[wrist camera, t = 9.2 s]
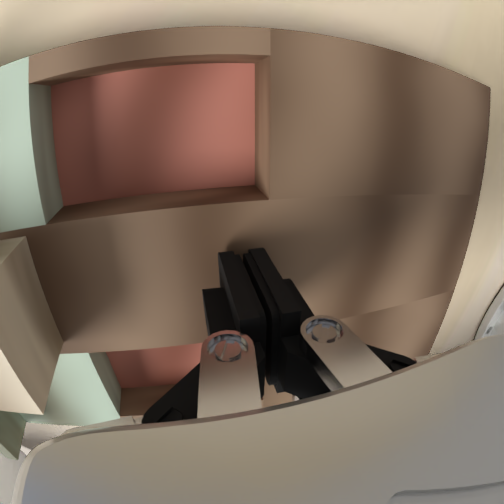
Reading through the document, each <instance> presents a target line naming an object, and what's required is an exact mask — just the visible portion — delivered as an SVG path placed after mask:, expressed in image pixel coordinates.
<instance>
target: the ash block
mask: <svg viewBox="0 0 504 504" xmlns="http://www.w3.org/2000/svg"><path fill="white" fill-rule="evenodd" d="M63 343H64V342H63V340H62V337H61V335H60V333H59V330H58V328H57V326H56V323H55V321H54V318H53V316H52V314H51V311H50V308H49V306H48V303H47V301H46V298H45V295H44V292H43V290H42V287H41V284H40V281H39V278H38V275H37V272H36V269H35V266H34V263H33V259H32V256H31V253H30V249H29V246H28V242H27V238H26V236H23V237H17V238H11V239H5V240H0V411H8V412H17V413H27V414H39V415H44V411H45V407H46V403H47V399H48V395H49V391H50V387H51V383H52V380H53V376H54V372H55V369H56V365H57V362H58V359H59V355H60V352H61V349H62V346H63Z"/></svg>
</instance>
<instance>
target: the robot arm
mask: <svg viewBox="0 0 504 504" xmlns="http://www.w3.org/2000/svg"><path fill="white" fill-rule="evenodd" d="M218 266H219V280H220V287H218V288H210V289H202V295H203V304H204V312H205V320H206V326H207V332H208V337H207V338H206V339H205V340H204V342H203V343H202V347H201V358H200V363H199V364H198V365H196V366H195V367H194V368H193V369H192V370H191V371H190V372H189V373H188V374H187V375H186V376H184V377H183V378H182V379H181V380H180V381H179V382H178V383H177V384H176V385H175V386H173V387H172V388H171V389H170V390H169V391H168V392H167V393H166V394H165V395H163V396H162V397H161V398H160V399H159V400H158V401H157V402H156V403H154V404H153V405H152V406H151V407H150V408H149V409H148V410H147V411H146V412H145V414H144V415H143V417H139V418H135V419H133V417H132V416H128V417H123V418H119V419H115V420H110V421H106V422H101V423H96V424H91V425H86V426H81V427H76V428H72V429H69V430H66V431H65V432H64V433H63V434H62V435H61V436H59V437H56V438H52V439H50V440H48V441H46V442H43V443H42V444H40V445H38V446H36V447H35V448H34V449H33V450H31V451H30V452H29V454H28V455H27V456H26V458H25V459H24V461H23V463H22V465H21V467H20V470H19V473H18V476H17V480H16V483H15V487H14V492H13V497H12V503H11V504H504V286H503V288H502V289H501V290H500V292H499V293H498V295H497V296H496V298H495V299H494V301H493V303H492V304H491V306H490V307H489V309H488V311H487V313H486V315H485V316H484V318H483V320H482V322H481V324H480V326H479V328H478V331H477V334H476V336H475V339H474V341H471V342H469V343H466V344H464V345H461V346H458V347H456V348H453V349H451V350H449V351H446V352H444V353H439V354H432V355H426V356H419V357H415V358H414V360H412V359H411V358H409V357H406V356H404V355H400V354H397V353H394V352H390V351H387V350H384V349H380V348H377V347H374V346H370V345H367V344H365V343H364V342H363V341H362V340H361V339H360V338H359V337H358V336H357V335H356V334H355V333H354V332H353V331H352V330H351V329H350V328H349V327H348V326H347V325H346V324H345V323H343V322H342V321H341V320H340V319H337V318H335V317H332V316H327V315H317V316H314V314H313V312H312V311H311V309H310V308H309V306H308V305H307V303H306V302H305V300H304V298H303V297H302V295H301V294H300V292H299V291H298V289H297V288H296V286H295V284H294V283H293V281H292V280H291V279H289V278H288V279H283V278H282V277H281V275H280V273H279V272H278V270H277V268H276V267H275V265H274V264H273V262H272V260H271V259H270V257H269V255H268V254H267V252H266V250H265V249H264V248H255V249H249V250H248V253H244V254H243V261H242V259H241V257H240V254H234V252H233V251H227V252H218ZM265 378H266V381H267V383H268V385H269V386H270V385H274V387H275V390H276V392H277V393H281V392H287V393H290V394H292V400H293V401H292V402H288V403H284V404H279V405H274V406H270V407H265V408H262V403H261V398H262V397H263V396H264V386H265Z"/></svg>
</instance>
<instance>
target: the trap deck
mask: <svg viewBox="0 0 504 504" xmlns="http://www.w3.org/2000/svg"><path fill="white" fill-rule="evenodd" d="M489 116H490V87H488V86H486V85H483V84H481V83H479V82H477V81H475V80H473V79H470V78H468V77H466V76H463V75H461V74H459V73H456V72H454V71H451V70H449V69H446V68H444V67H441V66H439V65H436V64H433V63H430V62H428V61H425V60H422V59H419V58H416V57H413V56H410V55H406V54H403V53H400V52H396V51H393V50H389V49H386V48H382V47H378V46H374V45H370V44H366V43H362V42H358V41H353V40H348V39H343V38H338V37H333V36H327V35H321V34H315V33H308V32H301V31H292V30H283V29H273V28H259V27H238V26H198V27H177V28H164V29H154V30H145V31H137V32H129V33H123V34H116V35H111V36H105V37H100V38H95V39H90V40H85V41H81V42H77V43H73V44H69V45H65V46H61V47H57V48H54V49H50V50H47V51H43V52H40V53H37V54H34V55H31V56H28V57H25V58H22V59H19V60H16V61H14V62H11V63H8V64H6V65H3V66H1V67H0V240H5V239H11V238H17V237H23V236H26V238H27V242H28V246H29V249H30V253H31V256H32V259H33V263H34V266H35V269H36V272H37V275H38V278H39V281H40V284H41V287H42V290H43V292H44V295H45V298H46V301H47V303H48V306H49V308H50V311H51V314H52V316H53V318H54V321H55V323H56V326H57V328H58V330H59V333H60V335H61V337H62V340H63V342H64V343H63V346H62V349H61V352H60V355H59V359H58V362H57V365H56V369H55V372H54V376H53V380H52V383H51V387H50V391H49V395H48V399H47V403H46V407H45V411H44V415H39V414H27V413H17V412H8V411H0V453H1V454H2V455H3V456H4V457H6V458H8V459H13V460H18V459H19V453H20V448H21V443H22V438H23V434H24V429H25V425H26V422H30V423H41V424H54V425H73V426H86V425H91V424H96V423H101V422H106V421H110V420H115V419H119V418H123V417H128V416H132V417H133V419H135V418H139V417H143V415H144V414H145V412H146V411H147V410H148V409H149V408H150V407H151V406H152V405H153V404H154V403H156V402H157V401H158V400H159V399H160V398H161V397H162V396H163V395H165V394H166V393H167V392H168V391H169V390H170V389H171V388H172V387H173V386H175V385H176V384H177V383H178V382H179V381H180V380H181V379H182V378H183V377H184V376H186V375H187V374H188V373H189V372H190V371H191V370H192V369H193V368H194V367H195V366H196V365H198V364H199V363H200V358H201V347H202V343H203V342H204V340H205V339H206V338H207V337H208V332H207V326H206V320H205V312H204V304H203V295H202V289H210V288H218V287H220V280H219V266H218V252H227V251H233V252H234V254H240V257H241V259H242V261H243V254H244V253H248V250H249V249H255V248H264V249H265V250H266V252H267V254H268V255H269V257H270V259H271V260H272V262H273V264H274V265H275V267H276V268H277V270H278V272H279V273H280V275H281V277H282V278H283V279H288V278H289V279H291V280H292V281H293V283H294V284H295V286H296V288H297V289H298V291H299V292H300V294H301V295H302V297H303V298H304V300H305V302H306V303H307V305H308V306H309V308H310V309H311V311H312V312H313V314H314V316H317V315H327V316H332V317H335V318H337V319H340V320H341V321H342V322H343V323H345V324H346V325H347V326H348V327H349V328H350V329H351V330H352V331H353V332H354V333H355V334H356V335H357V336H358V337H359V338H360V339H361V340H362V341H363V342H364V343H365V344H367V345H370V346H374V347H377V348H380V349H384V350H387V351H390V352H394V353H397V354H400V355H404V356H406V357H409V358H411V359H412V360H414V358H415V357H419V356H426V355H428V354H429V352H430V350H431V348H432V345H433V343H434V341H435V338H436V336H437V334H438V331H439V329H440V327H441V324H442V322H443V319H444V317H445V314H446V311H447V309H448V306H449V303H450V301H451V298H452V295H453V292H454V289H455V286H456V283H457V280H458V277H459V274H460V271H461V268H462V265H463V261H464V258H465V254H466V251H467V247H468V244H469V240H470V236H471V232H472V228H473V224H474V219H475V215H476V210H477V206H478V201H479V196H480V190H481V185H482V179H483V172H484V166H485V158H486V150H487V141H488V130H489ZM292 401H293V400H292V394H290V393H287V392H281V393H277V392H276V390H275V387H274V385H270V386H269V385H268V383H267V381H266V378H265V386H264V396H263V397H262V398H261V403H262V408H265V407H270V406H274V405H279V404H284V403H288V402H292Z"/></svg>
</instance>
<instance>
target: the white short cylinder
mask: <svg viewBox="0 0 504 504" xmlns="http://www.w3.org/2000/svg"><path fill="white" fill-rule="evenodd" d="M25 458H26V455H25V454H24V453H23V452H22V451H21V450H20V453H19V459H18V460H13V459H8V458H6V457H4V456H3V455H2V454H1V453H0V504H11V503H12V497H13V492H14V487H15V483H16V480H17V476H18V473H19V470H20V467H21V465H22V463H23V461H24V459H25Z"/></svg>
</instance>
